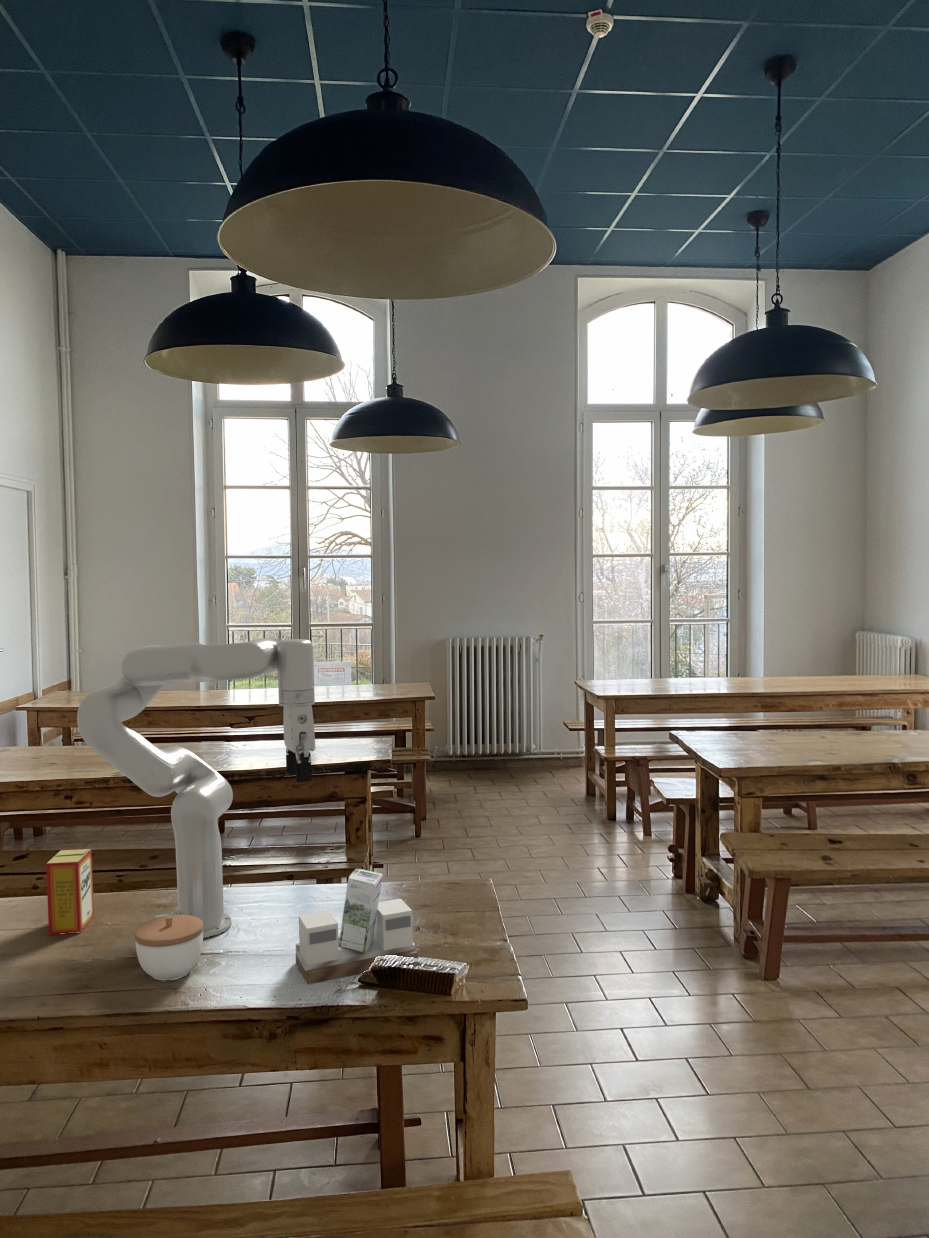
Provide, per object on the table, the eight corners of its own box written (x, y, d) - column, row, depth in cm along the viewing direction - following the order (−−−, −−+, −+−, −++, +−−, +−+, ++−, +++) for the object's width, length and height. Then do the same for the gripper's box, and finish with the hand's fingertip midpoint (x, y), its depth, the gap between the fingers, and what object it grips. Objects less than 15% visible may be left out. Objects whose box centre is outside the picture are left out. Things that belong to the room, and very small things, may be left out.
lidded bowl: (135, 965, 174) (133, 910, 174) (202, 954, 179) (200, 901, 178) (136, 993, 163) (134, 934, 162) (207, 980, 167) (205, 923, 167)
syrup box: (373, 941, 176) (384, 872, 175) (365, 955, 170) (376, 883, 169) (346, 935, 177) (356, 866, 176) (337, 948, 171) (347, 877, 170)
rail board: (307, 984, 165) (306, 963, 165) (295, 962, 174) (295, 943, 174) (418, 962, 174) (417, 942, 173) (401, 942, 183) (401, 924, 183)
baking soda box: (80, 933, 191) (77, 860, 190) (49, 935, 190) (45, 861, 189) (94, 916, 200) (91, 846, 199) (64, 918, 199) (61, 848, 199)
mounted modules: (308, 965, 166) (307, 929, 166) (299, 950, 173) (298, 915, 173) (413, 945, 174) (412, 910, 174) (401, 931, 181) (400, 898, 181)
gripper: (323, 701, 182) (325, 783, 183) (304, 691, 198) (306, 767, 199) (287, 703, 179) (289, 787, 180) (271, 693, 195) (273, 770, 196)
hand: (298, 776), depth 189 cm, fingers open, 9 cm apart
